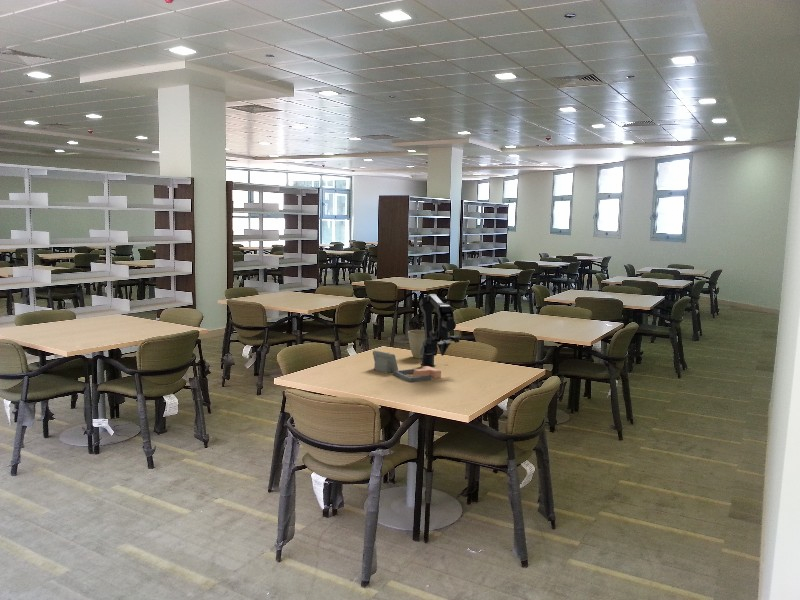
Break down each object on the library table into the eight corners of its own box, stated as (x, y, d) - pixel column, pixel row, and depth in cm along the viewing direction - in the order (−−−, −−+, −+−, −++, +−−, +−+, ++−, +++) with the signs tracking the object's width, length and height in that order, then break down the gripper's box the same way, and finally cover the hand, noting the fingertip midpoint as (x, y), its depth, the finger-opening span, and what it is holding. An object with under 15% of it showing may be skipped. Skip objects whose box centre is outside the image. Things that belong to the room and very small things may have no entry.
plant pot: (410, 360, 385) (410, 334, 383) (405, 354, 400) (405, 329, 398) (433, 359, 388) (434, 333, 386) (428, 354, 403) (428, 329, 401)
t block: (427, 372, 355) (427, 365, 355) (440, 377, 344) (441, 370, 344) (409, 374, 349) (409, 367, 349) (422, 379, 338) (422, 373, 338)
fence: (413, 372, 353) (413, 368, 353) (431, 379, 338) (431, 375, 338) (392, 374, 347) (393, 371, 346) (410, 382, 331) (410, 378, 331)
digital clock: (399, 372, 353) (400, 353, 352) (386, 374, 347) (387, 355, 346) (382, 366, 365) (382, 348, 364) (369, 368, 360) (369, 350, 358)
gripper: (448, 324, 361) (447, 351, 363) (421, 326, 351) (420, 354, 353) (460, 327, 351) (459, 355, 353) (432, 329, 342) (431, 358, 344)
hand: (442, 355), depth 351 cm, fingers closed
